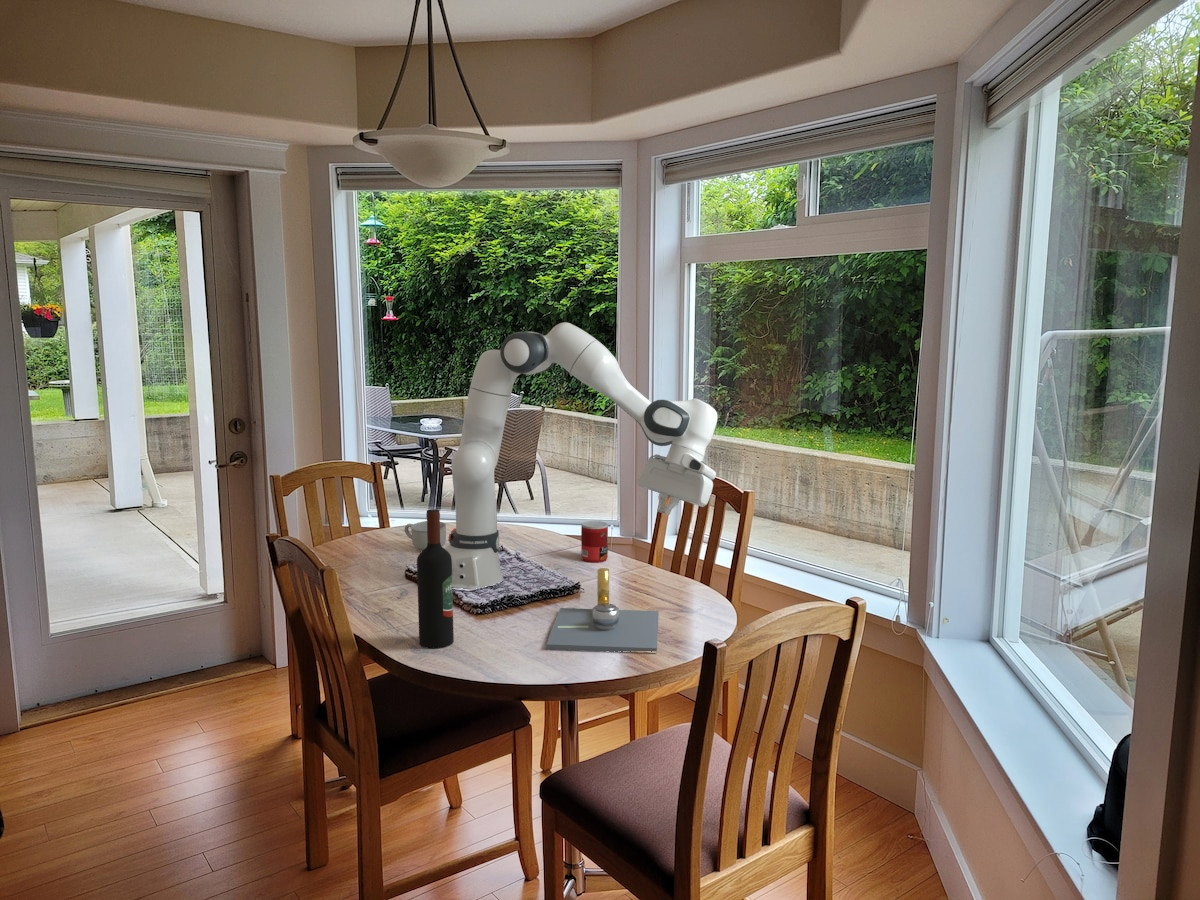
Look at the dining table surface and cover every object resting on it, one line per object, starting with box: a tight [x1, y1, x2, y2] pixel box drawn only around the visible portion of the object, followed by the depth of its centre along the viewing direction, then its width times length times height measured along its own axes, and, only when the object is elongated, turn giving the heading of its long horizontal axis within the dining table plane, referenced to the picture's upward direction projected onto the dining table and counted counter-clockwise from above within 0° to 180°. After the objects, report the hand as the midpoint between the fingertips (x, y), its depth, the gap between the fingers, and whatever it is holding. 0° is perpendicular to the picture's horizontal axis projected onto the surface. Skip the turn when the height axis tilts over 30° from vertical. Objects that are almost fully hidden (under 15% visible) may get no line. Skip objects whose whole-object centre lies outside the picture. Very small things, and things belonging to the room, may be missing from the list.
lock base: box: [545, 607, 660, 653], centre depth 197 cm, size 24×24×2 cm
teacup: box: [404, 520, 447, 552], centre depth 268 cm, size 14×11×8 cm
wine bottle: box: [416, 508, 455, 650], centre depth 188 cm, size 8×8×30 cm
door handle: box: [592, 567, 620, 626], centre depth 201 cm, size 15×6×9 cm, turn 3°
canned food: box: [580, 520, 609, 564], centre depth 256 cm, size 8×8×11 cm
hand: (663, 513), depth 213 cm, fingers closed
